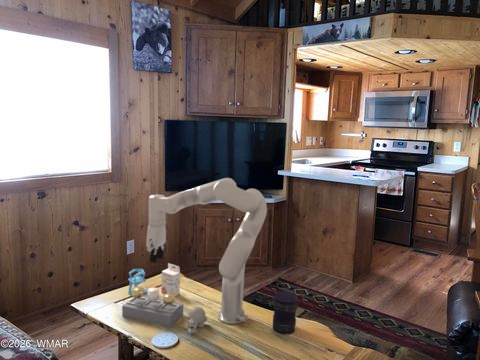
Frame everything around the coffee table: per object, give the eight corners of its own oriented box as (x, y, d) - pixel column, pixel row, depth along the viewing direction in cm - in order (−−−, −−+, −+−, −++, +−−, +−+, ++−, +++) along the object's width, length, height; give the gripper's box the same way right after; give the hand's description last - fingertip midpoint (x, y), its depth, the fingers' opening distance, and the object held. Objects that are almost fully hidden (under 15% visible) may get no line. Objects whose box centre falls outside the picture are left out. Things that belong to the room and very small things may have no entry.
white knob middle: (161, 297, 169) (161, 288, 168) (155, 301, 164) (155, 293, 164) (151, 295, 171) (151, 286, 170) (145, 299, 166) (145, 291, 165)
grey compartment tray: (183, 314, 171) (183, 302, 170) (170, 327, 159) (170, 315, 158) (137, 304, 178) (137, 293, 177) (122, 316, 167) (122, 304, 166)
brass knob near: (176, 300, 167) (177, 294, 166) (171, 305, 162) (171, 298, 161) (166, 298, 168) (167, 292, 168) (161, 303, 163) (161, 296, 163)
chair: (125, 292, 191) (125, 269, 189) (140, 287, 196) (140, 265, 194) (132, 297, 185) (132, 274, 183) (148, 292, 190) (148, 270, 189)
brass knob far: (145, 293, 171) (145, 287, 171) (139, 298, 167) (139, 292, 166) (136, 292, 173) (136, 285, 173) (129, 296, 168) (129, 290, 168)
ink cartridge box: (160, 292, 191) (161, 265, 189) (167, 289, 195) (168, 262, 193) (173, 297, 187) (173, 269, 185) (180, 293, 191) (180, 266, 189)
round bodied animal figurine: (182, 337, 157) (178, 323, 153) (195, 315, 167) (191, 301, 163) (198, 341, 154) (194, 327, 150) (209, 318, 164) (206, 304, 160)
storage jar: (267, 327, 163) (269, 294, 161) (283, 320, 169) (285, 289, 167) (284, 337, 155) (286, 303, 153) (300, 330, 161) (302, 297, 159)
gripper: (159, 217, 179) (159, 253, 181) (139, 225, 163) (139, 265, 165) (173, 218, 176) (172, 255, 179) (154, 227, 160) (154, 268, 163)
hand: (156, 260), depth 172 cm, fingers open, 4 cm apart
